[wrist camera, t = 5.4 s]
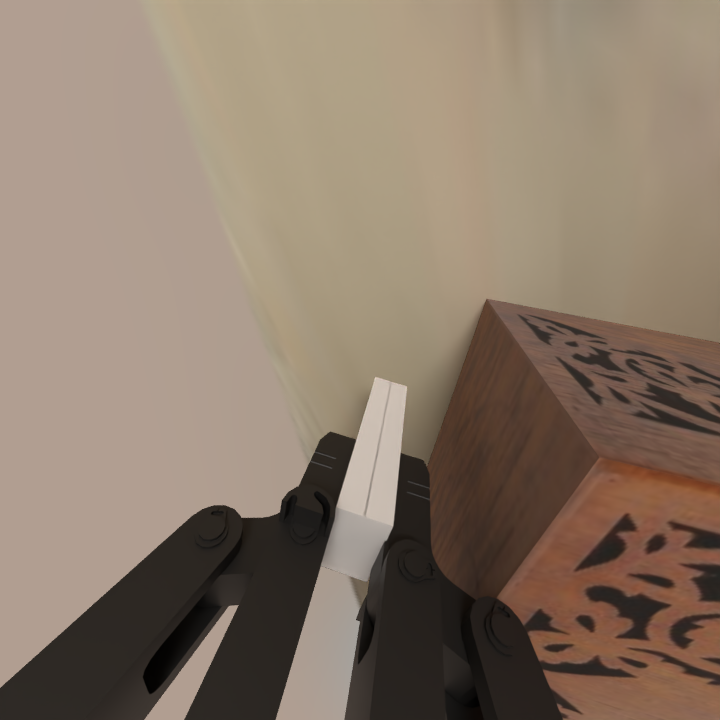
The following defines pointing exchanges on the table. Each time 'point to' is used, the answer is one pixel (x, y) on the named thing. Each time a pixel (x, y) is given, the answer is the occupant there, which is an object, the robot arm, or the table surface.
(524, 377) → the tissue box cover
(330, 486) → the robot arm
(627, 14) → the table surface
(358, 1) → the table surface
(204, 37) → the table surface
